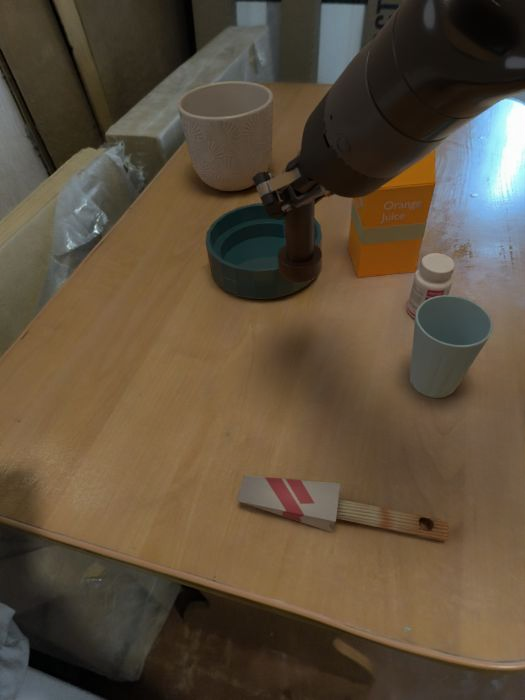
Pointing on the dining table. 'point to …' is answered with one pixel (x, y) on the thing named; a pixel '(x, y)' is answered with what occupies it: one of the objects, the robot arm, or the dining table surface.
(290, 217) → the grey brown flanged cylinder
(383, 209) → the orange juice
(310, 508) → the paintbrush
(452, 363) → the cup
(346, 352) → the dining table surface
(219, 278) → the bowl
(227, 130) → the planter
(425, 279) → the pill bottle
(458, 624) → the dining table surface
